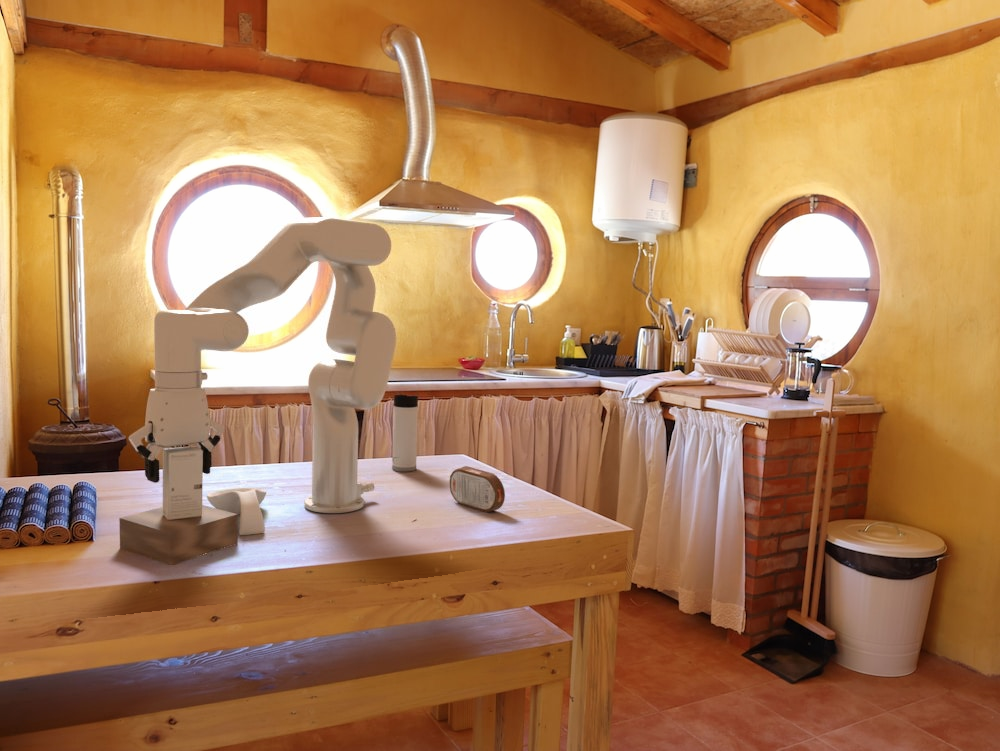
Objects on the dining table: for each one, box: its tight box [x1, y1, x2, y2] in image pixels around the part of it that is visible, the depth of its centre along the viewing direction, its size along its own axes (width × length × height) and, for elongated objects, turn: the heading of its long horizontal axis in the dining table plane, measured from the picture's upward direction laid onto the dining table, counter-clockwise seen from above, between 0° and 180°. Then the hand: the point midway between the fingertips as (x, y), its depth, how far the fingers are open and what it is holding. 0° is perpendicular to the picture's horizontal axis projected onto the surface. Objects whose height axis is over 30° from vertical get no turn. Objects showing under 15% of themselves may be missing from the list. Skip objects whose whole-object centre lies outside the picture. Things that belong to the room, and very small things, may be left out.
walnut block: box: [118, 504, 239, 566], centre depth 142 cm, size 14×14×6 cm
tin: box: [449, 465, 506, 513], centre depth 174 cm, size 15×3×8 cm, turn 47°
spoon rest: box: [206, 487, 267, 536], centre depth 160 cm, size 24×12×7 cm, turn 28°
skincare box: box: [162, 446, 204, 520], centre depth 142 cm, size 6×4×12 cm
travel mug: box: [391, 394, 419, 473], centre depth 205 cm, size 6×7×20 cm
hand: (179, 476), depth 141 cm, fingers open, 9 cm apart
